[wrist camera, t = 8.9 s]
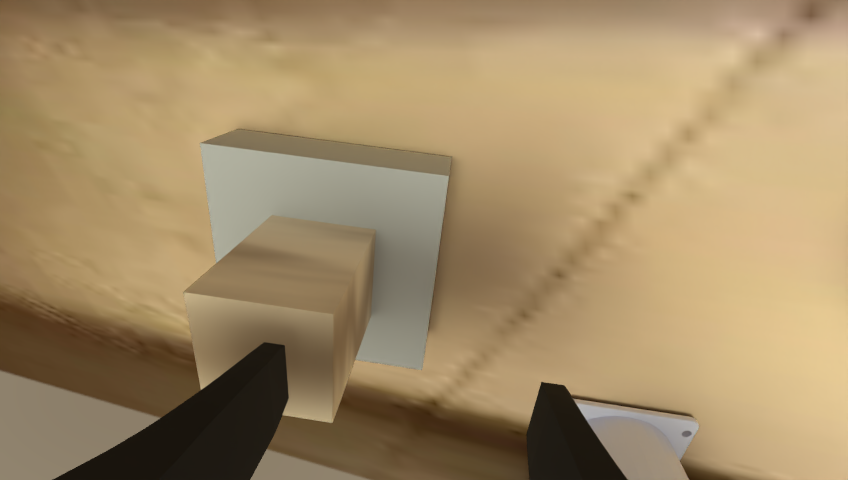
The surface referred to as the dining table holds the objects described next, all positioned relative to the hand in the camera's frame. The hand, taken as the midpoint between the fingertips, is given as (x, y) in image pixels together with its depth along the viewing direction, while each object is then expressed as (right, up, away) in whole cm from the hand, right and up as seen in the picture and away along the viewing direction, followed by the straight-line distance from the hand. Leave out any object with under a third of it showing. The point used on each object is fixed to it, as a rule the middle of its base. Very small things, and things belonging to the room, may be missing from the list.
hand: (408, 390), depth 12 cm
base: (-4, +4, +9) cm, 11 cm away
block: (-4, +3, +7) cm, 8 cm away
